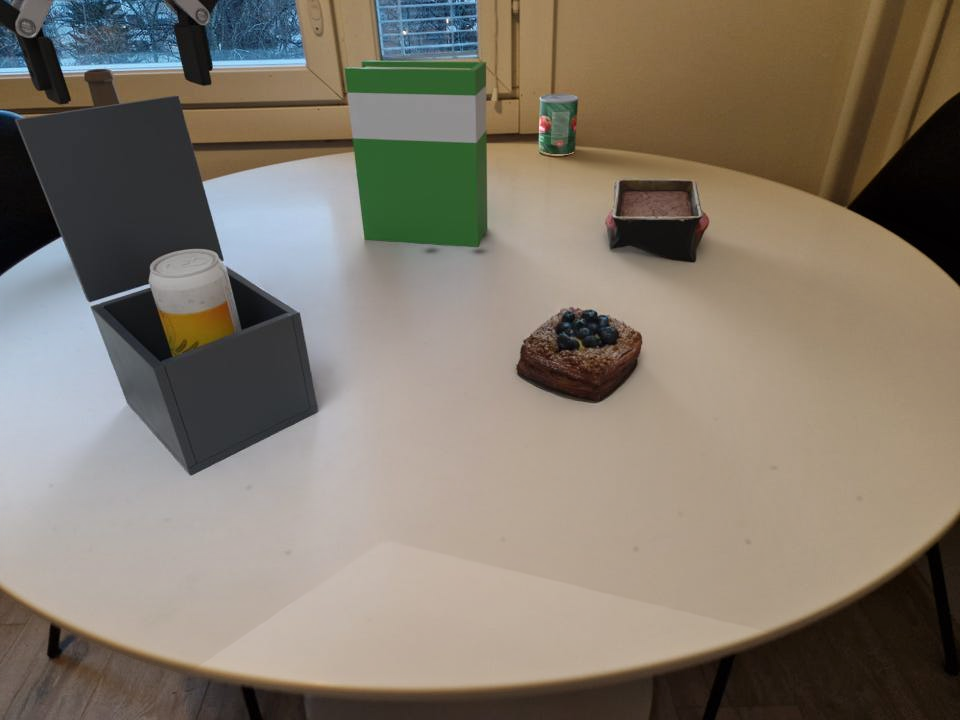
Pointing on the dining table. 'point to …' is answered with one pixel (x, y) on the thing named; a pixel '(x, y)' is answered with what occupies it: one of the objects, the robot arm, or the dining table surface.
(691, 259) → the baking dish
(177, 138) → the box lid
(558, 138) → the canned tomato
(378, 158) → the green cereal box
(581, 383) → the pastry
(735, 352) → the dining table surface
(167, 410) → the black box
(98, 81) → the beer bottle
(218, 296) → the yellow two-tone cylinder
